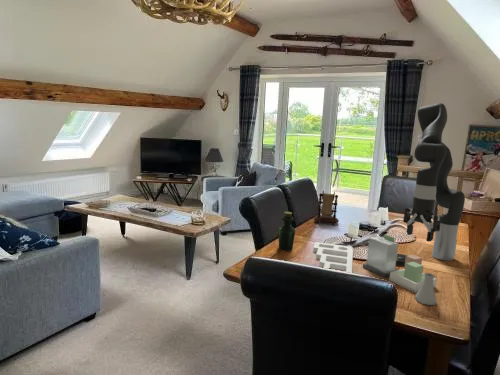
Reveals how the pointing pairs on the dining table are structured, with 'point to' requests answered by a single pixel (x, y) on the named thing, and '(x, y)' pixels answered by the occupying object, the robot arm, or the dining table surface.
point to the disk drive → (400, 259)
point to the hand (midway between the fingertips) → (419, 237)
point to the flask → (427, 291)
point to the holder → (334, 256)
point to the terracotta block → (413, 259)
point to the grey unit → (382, 255)
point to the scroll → (327, 209)
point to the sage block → (413, 271)
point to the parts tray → (408, 281)
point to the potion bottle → (286, 233)
